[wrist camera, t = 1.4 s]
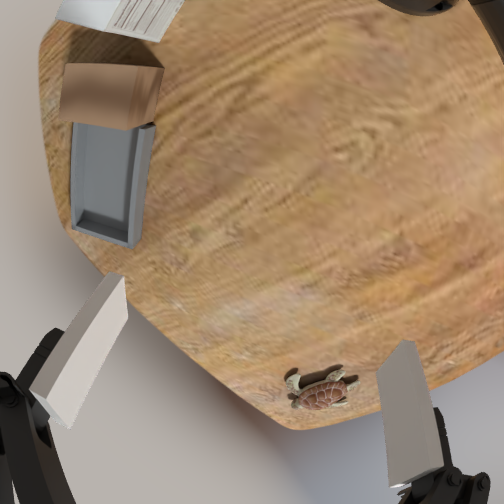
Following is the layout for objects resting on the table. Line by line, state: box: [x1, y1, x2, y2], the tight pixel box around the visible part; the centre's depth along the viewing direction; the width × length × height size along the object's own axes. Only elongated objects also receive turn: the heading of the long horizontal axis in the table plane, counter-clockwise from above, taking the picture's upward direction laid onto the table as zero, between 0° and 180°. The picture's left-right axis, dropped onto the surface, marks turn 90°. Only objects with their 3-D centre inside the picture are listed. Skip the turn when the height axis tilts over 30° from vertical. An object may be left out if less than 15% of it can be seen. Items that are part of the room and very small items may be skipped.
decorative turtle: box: [286, 370, 360, 410], centre depth 56 cm, size 18×17×5 cm
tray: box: [71, 122, 156, 249], centre depth 36 cm, size 17×11×3 cm, turn 165°
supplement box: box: [55, 0, 185, 43], centre depth 19 cm, size 7×7×13 cm
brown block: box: [58, 63, 165, 131], centre depth 27 cm, size 7×10×7 cm
